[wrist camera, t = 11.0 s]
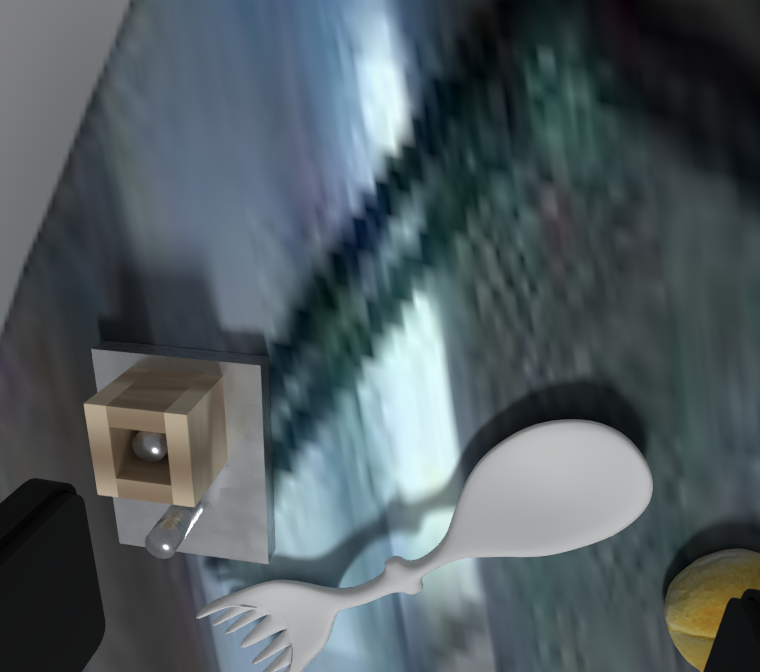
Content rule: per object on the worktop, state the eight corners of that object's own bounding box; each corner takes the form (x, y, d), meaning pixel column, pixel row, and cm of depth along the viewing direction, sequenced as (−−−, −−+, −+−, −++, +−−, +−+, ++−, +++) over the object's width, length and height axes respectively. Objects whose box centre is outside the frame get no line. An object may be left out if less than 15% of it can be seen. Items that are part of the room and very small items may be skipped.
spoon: (208, 583, 47) (188, 619, 44) (594, 376, 36) (604, 403, 33) (282, 664, 49) (268, 704, 46) (671, 490, 38) (687, 526, 35)
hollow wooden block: (131, 367, 39) (83, 403, 35) (222, 376, 38) (186, 415, 34) (141, 449, 41) (97, 494, 37) (228, 460, 41) (194, 507, 36)
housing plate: (104, 340, 40) (50, 375, 35) (268, 356, 39) (235, 395, 34) (130, 529, 46) (86, 583, 41) (275, 549, 44) (248, 608, 39)
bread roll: (796, 535, 38) (830, 582, 34) (801, 647, 41) (833, 702, 37) (653, 548, 40) (670, 595, 36) (667, 655, 43) (684, 708, 39)
